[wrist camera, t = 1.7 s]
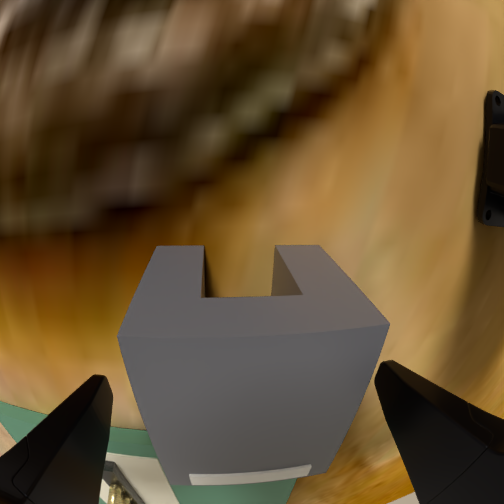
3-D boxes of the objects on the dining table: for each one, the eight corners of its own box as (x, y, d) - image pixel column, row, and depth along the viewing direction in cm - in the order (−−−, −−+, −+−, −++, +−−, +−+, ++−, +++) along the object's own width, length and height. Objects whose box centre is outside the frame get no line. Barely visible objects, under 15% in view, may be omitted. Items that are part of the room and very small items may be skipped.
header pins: (114, 461, 13) (108, 494, 10) (147, 506, 16) (146, 530, 14) (96, 458, 12) (90, 491, 10) (134, 505, 16) (132, 528, 13)
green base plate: (308, 424, 14) (313, 439, 13) (280, 502, 19) (282, 511, 18) (-3, 400, 12) (-9, 411, 11) (71, 489, 17) (70, 498, 16)
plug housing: (318, 244, 10) (392, 326, 6) (296, 385, 13) (326, 474, 8) (157, 245, 10) (115, 339, 5) (176, 390, 12) (170, 486, 7)
